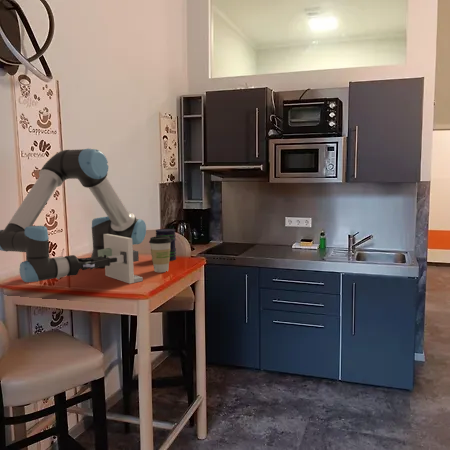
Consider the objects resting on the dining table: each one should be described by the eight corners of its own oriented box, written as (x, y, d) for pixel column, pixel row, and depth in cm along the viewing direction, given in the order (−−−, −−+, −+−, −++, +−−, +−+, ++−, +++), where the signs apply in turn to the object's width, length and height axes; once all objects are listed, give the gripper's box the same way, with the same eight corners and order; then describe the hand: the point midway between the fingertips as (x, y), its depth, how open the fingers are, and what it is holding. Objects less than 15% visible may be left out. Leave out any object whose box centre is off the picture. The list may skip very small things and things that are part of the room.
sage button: (98, 259, 196) (97, 249, 196) (111, 257, 200) (110, 248, 200) (102, 260, 193) (102, 251, 193) (115, 258, 197) (115, 249, 197)
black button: (120, 261, 190) (120, 252, 189) (133, 259, 194) (133, 250, 193) (125, 263, 187) (125, 253, 186) (138, 261, 191) (138, 251, 190)
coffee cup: (168, 273, 203) (167, 239, 201) (146, 273, 205) (145, 239, 203) (175, 268, 213) (174, 236, 211) (154, 268, 215) (153, 235, 213)
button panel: (105, 275, 201) (103, 234, 199) (117, 273, 205) (116, 232, 203) (129, 283, 187) (127, 238, 184) (142, 280, 191) (140, 237, 188)
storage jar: (152, 260, 233) (151, 230, 231) (162, 257, 242) (161, 228, 240) (170, 261, 229) (169, 231, 227) (179, 258, 238) (179, 228, 236)
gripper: (58, 273, 178) (115, 265, 193) (73, 279, 168) (131, 269, 183) (57, 254, 177) (114, 247, 192) (72, 258, 167) (130, 250, 183)
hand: (122, 258), depth 188 cm, fingers closed
